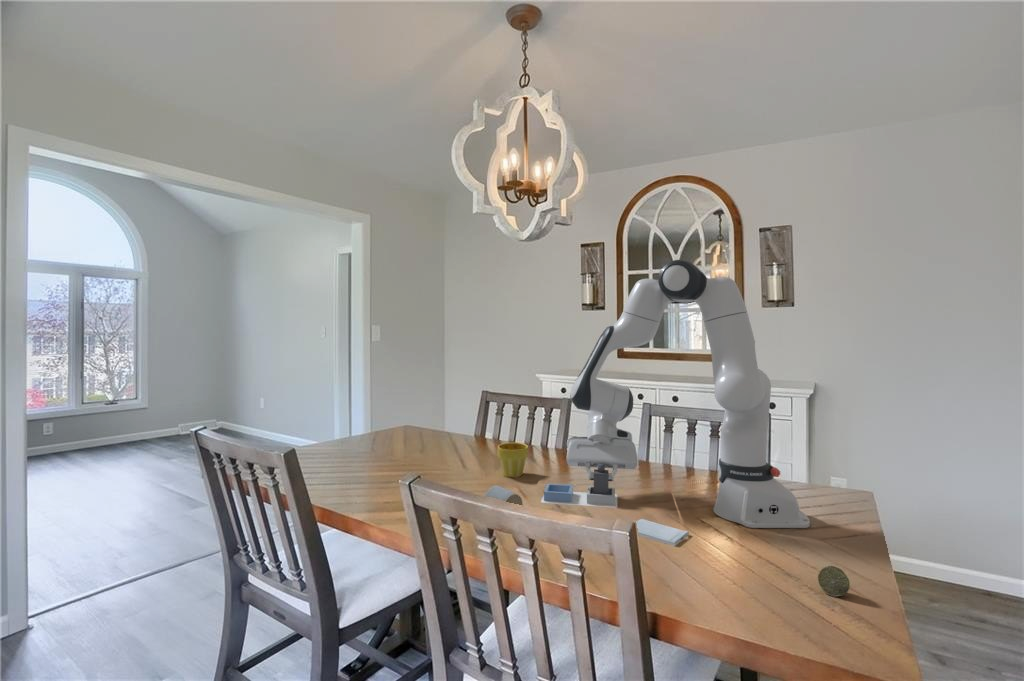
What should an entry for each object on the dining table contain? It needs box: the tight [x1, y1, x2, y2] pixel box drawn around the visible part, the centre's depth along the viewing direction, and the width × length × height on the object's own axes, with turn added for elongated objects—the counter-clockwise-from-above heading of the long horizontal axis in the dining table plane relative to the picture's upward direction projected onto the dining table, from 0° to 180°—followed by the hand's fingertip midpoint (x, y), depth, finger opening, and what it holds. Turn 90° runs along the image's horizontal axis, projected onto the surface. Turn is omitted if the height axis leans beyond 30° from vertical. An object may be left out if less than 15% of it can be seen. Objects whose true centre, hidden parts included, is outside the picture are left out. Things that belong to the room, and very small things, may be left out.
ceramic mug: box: [484, 485, 524, 506], centre depth 134 cm, size 11×8×8 cm
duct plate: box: [540, 483, 618, 509], centre depth 145 cm, size 21×11×4 cm, turn 78°
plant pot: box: [497, 442, 529, 478], centre depth 171 cm, size 10×10×10 cm
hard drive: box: [635, 518, 690, 547], centre depth 123 cm, size 2×8×12 cm
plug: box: [593, 464, 609, 495], centre depth 143 cm, size 4×4×10 cm
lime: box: [817, 565, 851, 597], centre depth 95 cm, size 4×5×5 cm
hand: (601, 479), depth 143 cm, fingers closed on plug, 4 cm apart
